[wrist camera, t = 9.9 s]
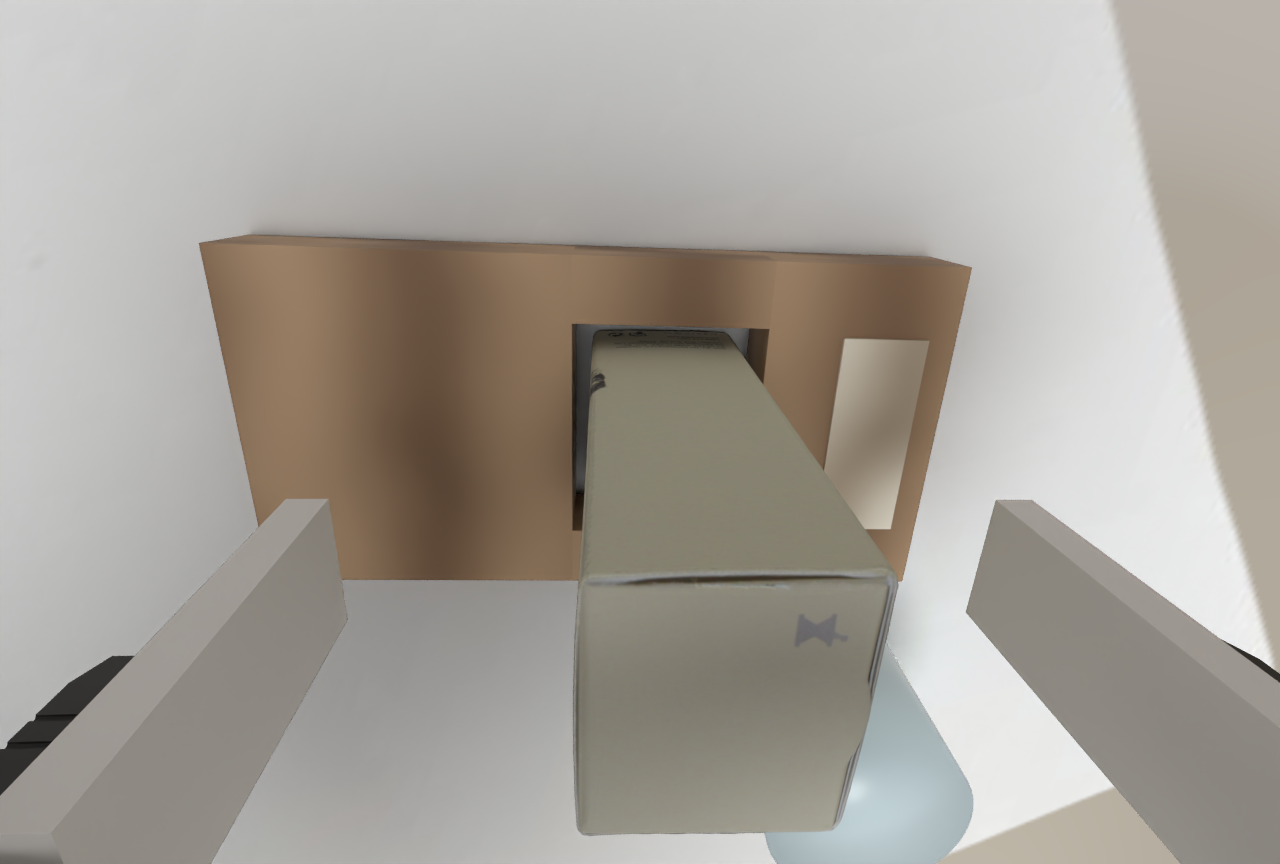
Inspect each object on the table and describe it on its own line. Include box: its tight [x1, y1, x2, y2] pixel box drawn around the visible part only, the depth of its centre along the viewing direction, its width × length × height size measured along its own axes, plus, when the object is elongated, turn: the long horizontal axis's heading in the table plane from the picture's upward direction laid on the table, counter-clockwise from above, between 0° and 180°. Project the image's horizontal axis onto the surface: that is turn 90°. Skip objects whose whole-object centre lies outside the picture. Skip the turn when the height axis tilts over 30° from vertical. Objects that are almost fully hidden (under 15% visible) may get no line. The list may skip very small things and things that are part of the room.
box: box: [573, 331, 898, 836], centre depth 15 cm, size 5×4×13 cm
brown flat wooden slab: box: [199, 235, 972, 581], centre depth 20 cm, size 20×10×2 cm, turn 88°
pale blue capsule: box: [765, 644, 973, 864], centre depth 22 cm, size 6×6×7 cm
